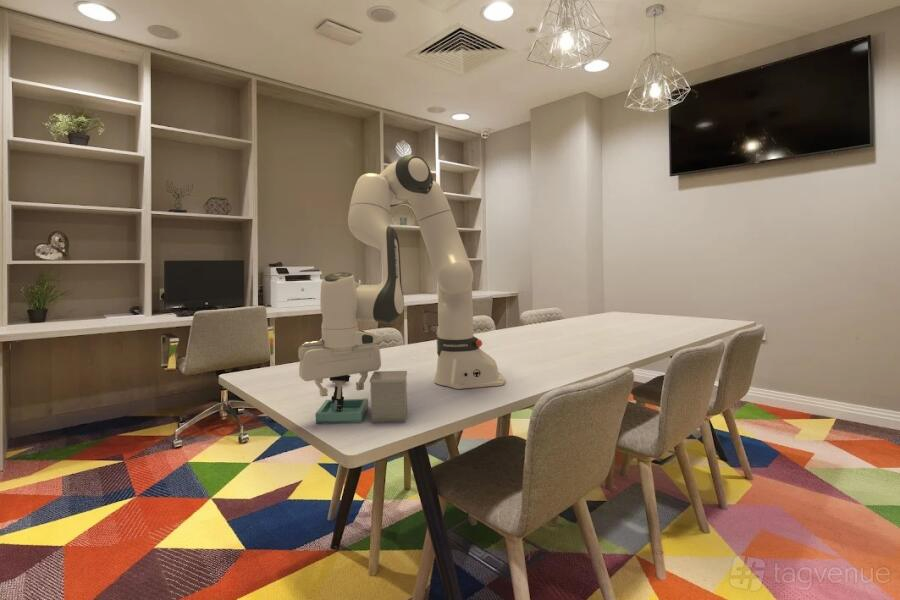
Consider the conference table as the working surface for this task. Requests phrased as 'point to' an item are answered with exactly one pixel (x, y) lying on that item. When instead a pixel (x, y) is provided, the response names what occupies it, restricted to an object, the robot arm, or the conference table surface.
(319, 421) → the parts tray
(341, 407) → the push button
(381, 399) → the box
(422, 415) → the conference table surface
